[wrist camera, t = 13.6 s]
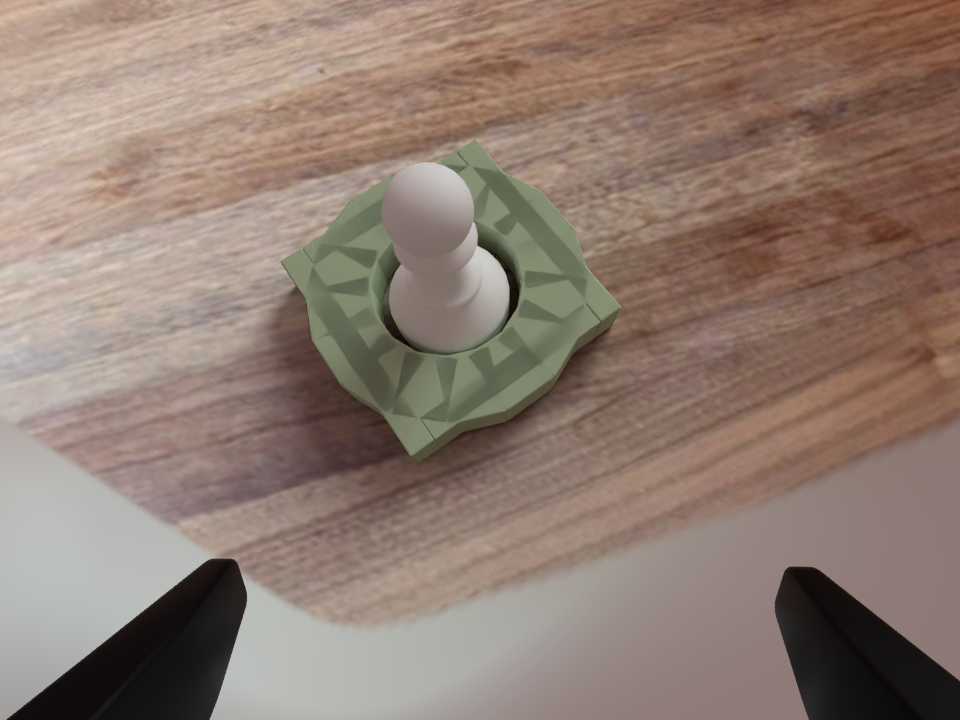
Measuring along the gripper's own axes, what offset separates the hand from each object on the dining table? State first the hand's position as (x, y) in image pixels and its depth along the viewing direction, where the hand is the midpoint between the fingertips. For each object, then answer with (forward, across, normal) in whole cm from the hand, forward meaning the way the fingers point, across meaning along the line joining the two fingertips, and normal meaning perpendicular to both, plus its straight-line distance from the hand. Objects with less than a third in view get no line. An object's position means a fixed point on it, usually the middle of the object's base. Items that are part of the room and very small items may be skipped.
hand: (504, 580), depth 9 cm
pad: (+16, +2, +2) cm, 17 cm away
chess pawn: (+16, +2, +2) cm, 16 cm away
